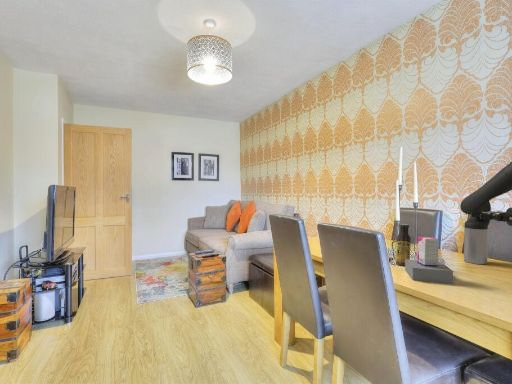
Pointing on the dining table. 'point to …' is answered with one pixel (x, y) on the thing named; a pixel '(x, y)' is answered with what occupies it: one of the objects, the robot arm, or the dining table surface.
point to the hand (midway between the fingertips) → (475, 215)
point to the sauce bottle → (403, 245)
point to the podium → (429, 272)
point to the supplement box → (428, 251)
